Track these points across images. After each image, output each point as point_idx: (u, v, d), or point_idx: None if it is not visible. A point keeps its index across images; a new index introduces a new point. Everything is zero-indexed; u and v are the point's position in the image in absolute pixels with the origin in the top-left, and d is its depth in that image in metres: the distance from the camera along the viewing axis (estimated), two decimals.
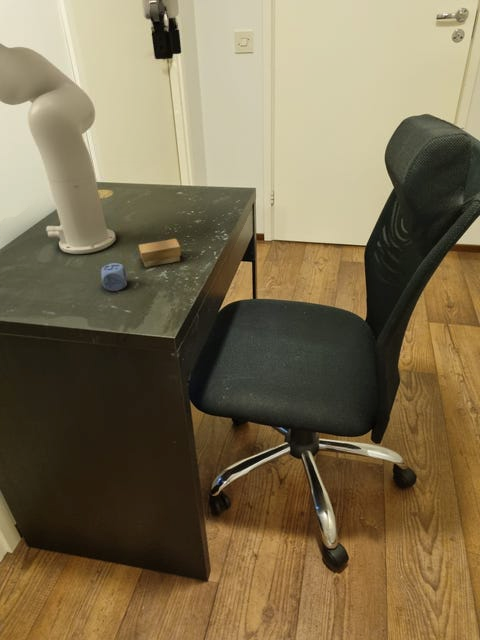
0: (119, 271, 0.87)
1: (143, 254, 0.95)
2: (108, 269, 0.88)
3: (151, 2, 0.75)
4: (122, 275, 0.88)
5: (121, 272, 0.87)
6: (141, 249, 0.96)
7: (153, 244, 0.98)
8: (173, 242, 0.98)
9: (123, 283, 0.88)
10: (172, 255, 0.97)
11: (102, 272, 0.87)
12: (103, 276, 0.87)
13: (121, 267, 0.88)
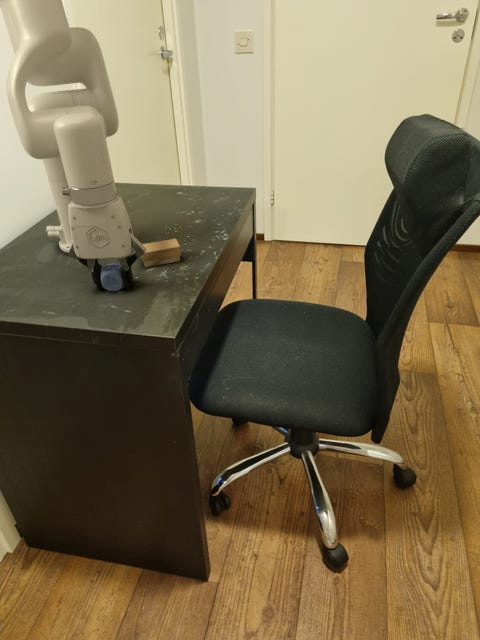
0: (118, 271, 0.87)
1: (143, 254, 0.95)
2: (107, 269, 0.88)
3: (145, 250, 0.85)
4: None
5: (120, 272, 0.87)
6: None
7: (153, 244, 0.98)
8: (173, 242, 0.98)
9: (122, 283, 0.88)
10: (172, 255, 0.97)
11: (101, 272, 0.87)
12: (102, 276, 0.87)
13: (120, 267, 0.88)
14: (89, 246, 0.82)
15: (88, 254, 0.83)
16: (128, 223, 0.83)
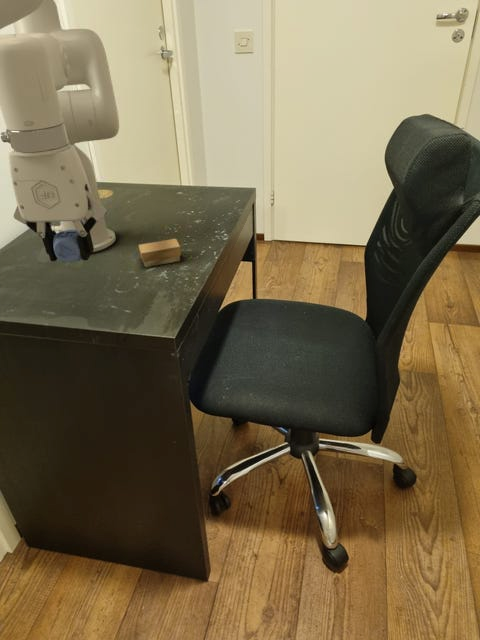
0: (74, 238, 0.73)
1: (143, 254, 0.95)
2: (62, 236, 0.74)
3: (105, 212, 0.71)
4: None
5: (76, 239, 0.73)
6: (141, 249, 0.96)
7: (153, 244, 0.98)
8: (173, 242, 0.98)
9: (79, 253, 0.74)
10: (172, 255, 0.97)
11: (54, 239, 0.73)
12: (55, 244, 0.73)
13: (77, 234, 0.74)
14: (36, 205, 0.68)
15: (36, 216, 0.69)
16: (83, 178, 0.69)
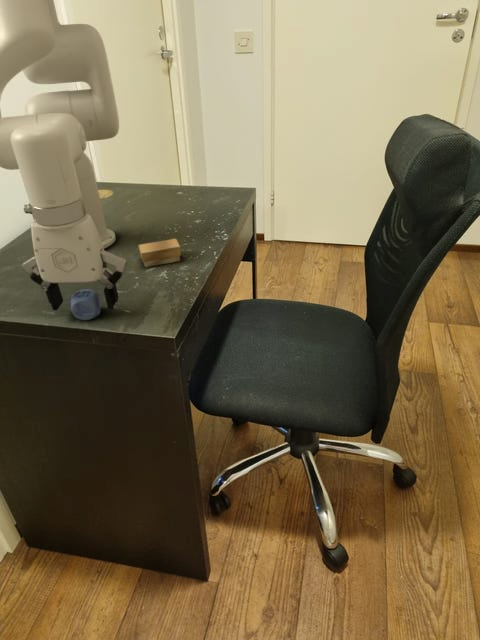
0: (90, 299, 0.79)
1: (143, 254, 0.95)
2: (78, 296, 0.80)
3: (124, 262, 0.76)
4: (93, 303, 0.80)
5: (92, 300, 0.79)
6: (141, 249, 0.96)
7: (153, 244, 0.98)
8: (173, 242, 0.98)
9: (95, 312, 0.80)
10: (172, 255, 0.97)
11: (71, 299, 0.79)
12: (72, 304, 0.79)
13: (93, 294, 0.80)
14: (55, 269, 0.74)
15: (55, 278, 0.75)
16: (99, 244, 0.75)
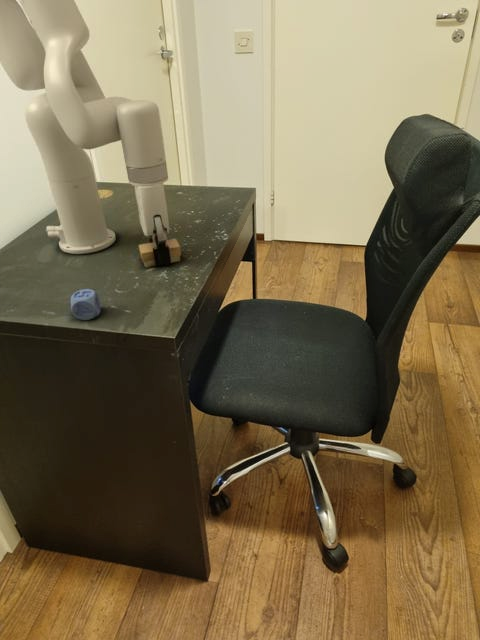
0: (90, 299, 0.79)
1: (143, 254, 0.95)
2: (78, 296, 0.80)
3: (160, 240, 0.89)
4: (93, 303, 0.80)
5: (92, 300, 0.79)
6: (141, 249, 0.96)
7: None
8: (173, 242, 0.98)
9: (94, 312, 0.80)
10: (172, 255, 0.97)
11: (71, 300, 0.79)
12: (72, 304, 0.79)
13: (93, 294, 0.80)
14: None
15: (140, 221, 0.96)
16: (156, 210, 0.88)
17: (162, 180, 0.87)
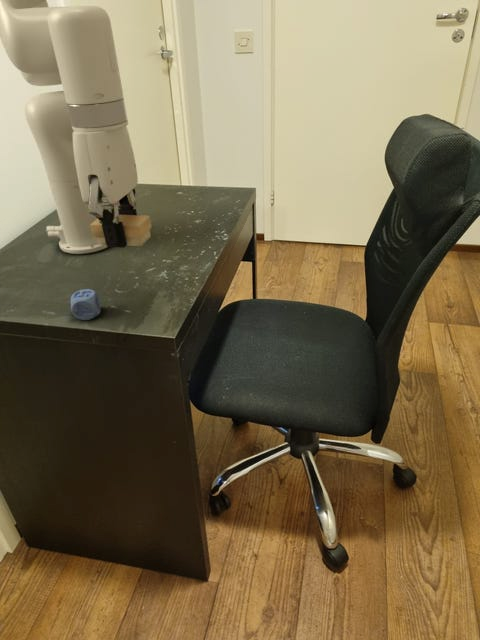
0: (90, 299, 0.79)
1: (92, 226, 0.71)
2: (78, 296, 0.80)
3: (90, 210, 0.64)
4: (93, 303, 0.80)
5: (92, 300, 0.79)
6: (97, 220, 0.72)
7: None
8: (139, 219, 0.72)
9: (94, 312, 0.80)
10: (129, 236, 0.71)
11: (71, 300, 0.79)
12: (72, 304, 0.79)
13: (93, 294, 0.80)
14: None
15: None
16: (91, 167, 0.63)
17: (105, 127, 0.61)
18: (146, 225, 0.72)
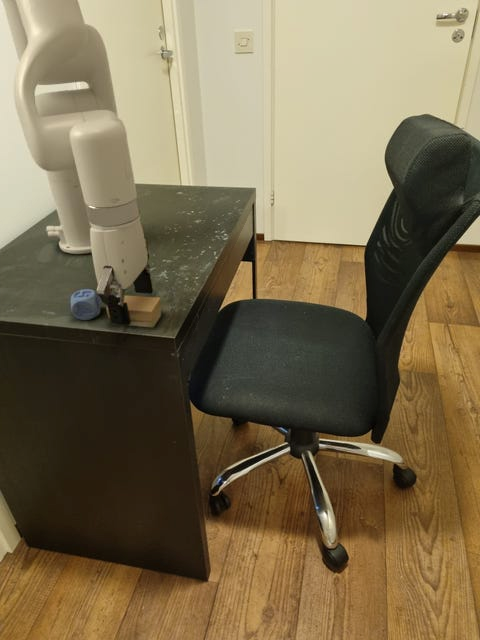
0: (90, 299, 0.79)
1: None
2: (78, 296, 0.80)
3: (98, 291, 0.68)
4: (93, 303, 0.80)
5: (92, 300, 0.79)
6: None
7: (130, 299, 0.79)
8: (151, 303, 0.78)
9: (94, 312, 0.80)
10: (142, 319, 0.77)
11: (71, 299, 0.79)
12: (72, 304, 0.79)
13: (93, 294, 0.80)
14: None
15: None
16: (106, 260, 0.69)
17: (120, 225, 0.67)
18: (157, 308, 0.78)
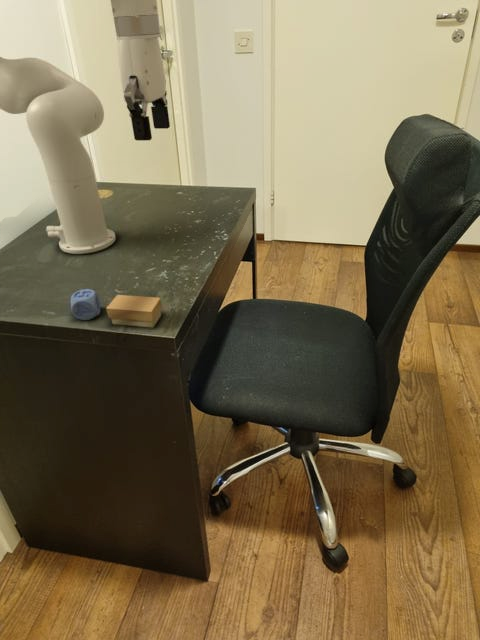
0: (90, 299, 0.79)
1: (108, 310, 0.77)
2: (78, 296, 0.80)
3: (125, 93, 0.78)
4: (93, 303, 0.80)
5: (92, 300, 0.79)
6: (112, 302, 0.79)
7: (130, 299, 0.79)
8: (151, 303, 0.78)
9: (94, 312, 0.80)
10: (142, 319, 0.77)
11: (71, 299, 0.79)
12: (72, 304, 0.79)
13: (93, 294, 0.80)
14: None
15: None
16: (132, 69, 0.79)
17: (144, 35, 0.78)
18: (157, 308, 0.78)
